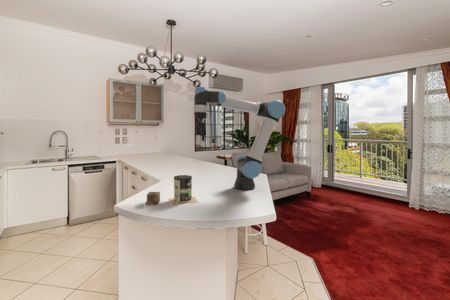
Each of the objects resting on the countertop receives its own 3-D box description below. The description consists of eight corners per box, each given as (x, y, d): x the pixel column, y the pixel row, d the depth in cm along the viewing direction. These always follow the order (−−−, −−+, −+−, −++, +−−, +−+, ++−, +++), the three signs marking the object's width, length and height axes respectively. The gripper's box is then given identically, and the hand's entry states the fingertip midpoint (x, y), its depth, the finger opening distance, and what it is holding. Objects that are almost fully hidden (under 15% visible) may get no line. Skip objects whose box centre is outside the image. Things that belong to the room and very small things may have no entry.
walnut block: (160, 202, 136) (159, 191, 135) (158, 205, 130) (157, 194, 129) (149, 202, 135) (149, 191, 135) (146, 205, 129) (146, 194, 129)
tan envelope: (194, 197, 146) (194, 196, 146) (198, 203, 135) (198, 202, 135) (168, 199, 141) (168, 198, 141) (169, 205, 130) (169, 204, 130)
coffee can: (194, 198, 142) (194, 175, 141) (188, 203, 132) (188, 179, 131) (178, 197, 144) (178, 174, 143) (170, 202, 134) (170, 177, 133)
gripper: (191, 113, 160) (191, 144, 162) (199, 110, 137) (198, 147, 138) (202, 113, 162) (201, 144, 164) (211, 111, 139) (211, 146, 141)
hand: (200, 145), depth 151 cm, fingers open, 13 cm apart
